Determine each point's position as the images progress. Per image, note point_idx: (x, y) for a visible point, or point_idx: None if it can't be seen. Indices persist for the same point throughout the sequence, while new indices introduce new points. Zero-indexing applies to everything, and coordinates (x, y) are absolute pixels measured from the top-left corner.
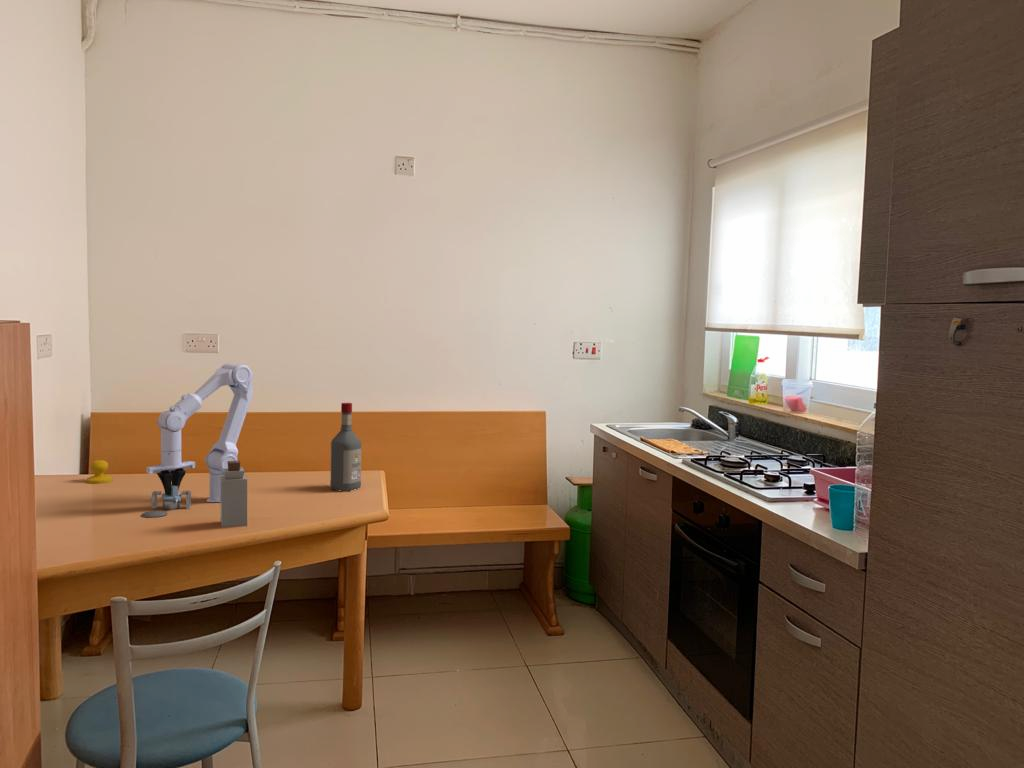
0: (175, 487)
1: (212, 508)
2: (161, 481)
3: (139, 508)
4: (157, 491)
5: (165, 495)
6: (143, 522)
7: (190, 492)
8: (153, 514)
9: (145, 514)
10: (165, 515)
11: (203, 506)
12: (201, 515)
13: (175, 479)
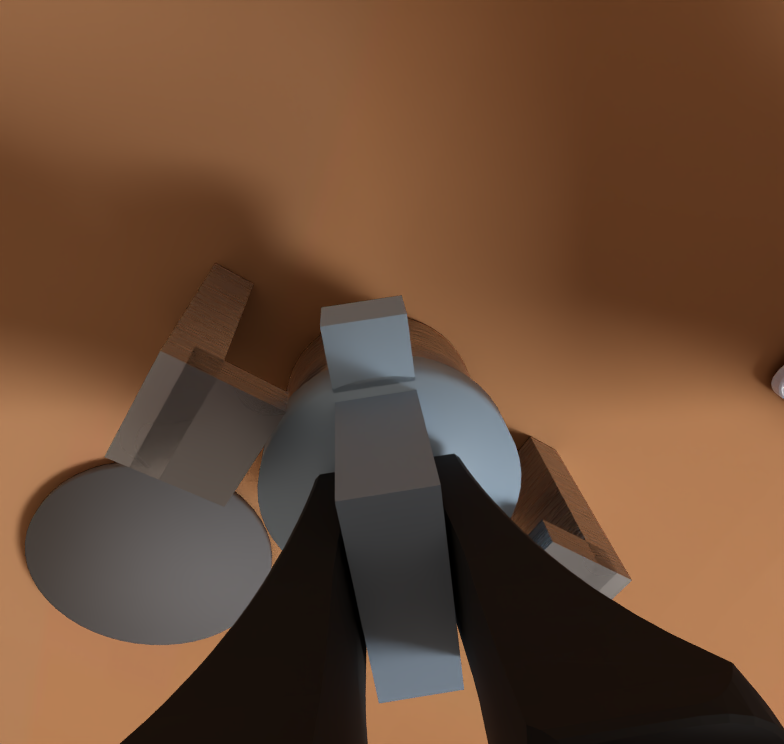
0: (420, 682)
1: (654, 585)
2: (235, 627)
3: (37, 214)
4: (217, 404)
5: (313, 478)
6: (25, 709)
7: (601, 590)
8: (135, 581)
9: (62, 551)
10: (234, 619)
11: (646, 493)
12: (472, 712)
13: (489, 726)
